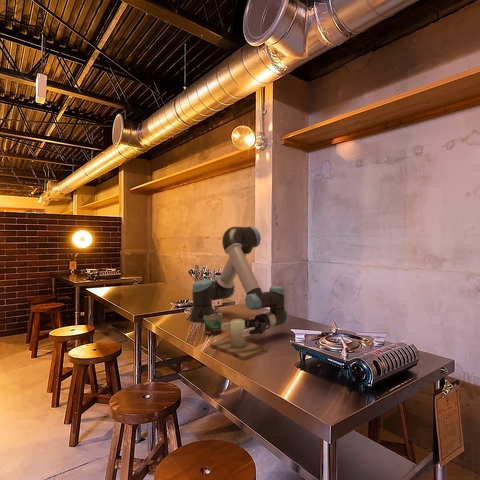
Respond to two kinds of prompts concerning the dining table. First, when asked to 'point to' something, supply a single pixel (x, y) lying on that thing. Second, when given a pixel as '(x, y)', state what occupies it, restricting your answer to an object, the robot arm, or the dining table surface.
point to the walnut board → (239, 349)
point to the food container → (213, 323)
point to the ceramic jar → (237, 333)
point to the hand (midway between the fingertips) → (232, 330)
